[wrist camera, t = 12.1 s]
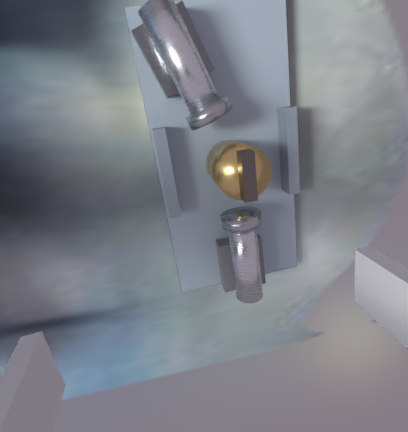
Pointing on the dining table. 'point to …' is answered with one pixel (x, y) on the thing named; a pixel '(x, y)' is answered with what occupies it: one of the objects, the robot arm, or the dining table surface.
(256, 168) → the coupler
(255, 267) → the shaft
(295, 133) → the bench
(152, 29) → the shaft
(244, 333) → the dining table surface
